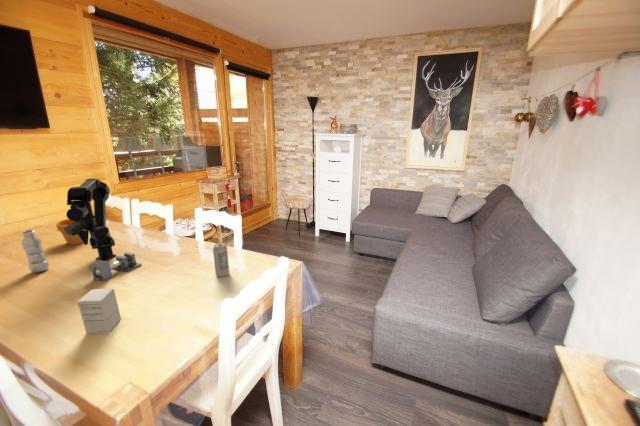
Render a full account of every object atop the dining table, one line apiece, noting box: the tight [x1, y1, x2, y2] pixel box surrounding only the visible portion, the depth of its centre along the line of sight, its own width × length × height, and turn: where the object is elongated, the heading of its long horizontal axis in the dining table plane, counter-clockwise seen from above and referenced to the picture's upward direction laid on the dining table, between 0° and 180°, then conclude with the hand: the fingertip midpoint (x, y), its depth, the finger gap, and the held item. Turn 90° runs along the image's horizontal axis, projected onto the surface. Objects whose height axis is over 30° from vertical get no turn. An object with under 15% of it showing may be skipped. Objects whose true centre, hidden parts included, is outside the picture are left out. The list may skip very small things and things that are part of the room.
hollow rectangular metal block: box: [89, 259, 114, 282], centre depth 127 cm, size 6×4×8 cm, turn 70°
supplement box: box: [77, 288, 122, 334], centre depth 96 cm, size 7×7×13 cm
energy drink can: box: [212, 242, 230, 278], centre depth 130 cm, size 6×6×15 cm
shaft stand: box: [95, 252, 142, 276], centre depth 133 cm, size 10×17×6 cm, turn 160°
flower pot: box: [55, 218, 84, 246], centre depth 165 cm, size 14×14×13 cm
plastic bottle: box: [21, 229, 50, 274], centre depth 131 cm, size 6×7×20 cm
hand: (92, 246), depth 133 cm, fingers open, 9 cm apart
